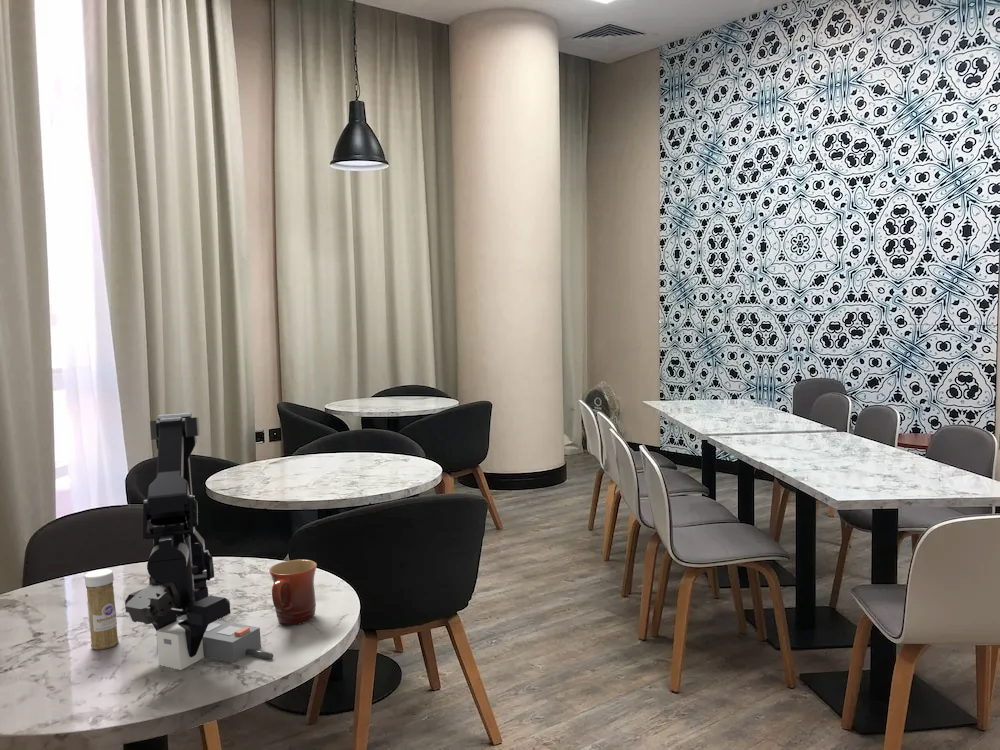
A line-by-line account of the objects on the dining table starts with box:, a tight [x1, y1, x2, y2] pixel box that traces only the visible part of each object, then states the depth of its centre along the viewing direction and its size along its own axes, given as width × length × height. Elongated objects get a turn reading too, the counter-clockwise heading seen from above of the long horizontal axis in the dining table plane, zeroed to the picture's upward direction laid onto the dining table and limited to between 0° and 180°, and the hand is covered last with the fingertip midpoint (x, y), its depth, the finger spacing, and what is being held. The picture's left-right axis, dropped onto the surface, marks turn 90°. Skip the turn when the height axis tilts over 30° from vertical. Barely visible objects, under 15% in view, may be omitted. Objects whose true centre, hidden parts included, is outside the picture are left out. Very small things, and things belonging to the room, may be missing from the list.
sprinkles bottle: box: [84, 568, 120, 651], centre depth 143 cm, size 5×5×14 cm
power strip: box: [155, 615, 274, 663], centre depth 139 cm, size 24×6×4 cm, turn 65°
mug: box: [268, 559, 318, 626], centre depth 149 cm, size 12×9×10 cm
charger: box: [155, 620, 205, 671], centre depth 136 cm, size 5×8×6 cm, turn 155°
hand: (181, 653), depth 135 cm, fingers closed on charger, 5 cm apart
